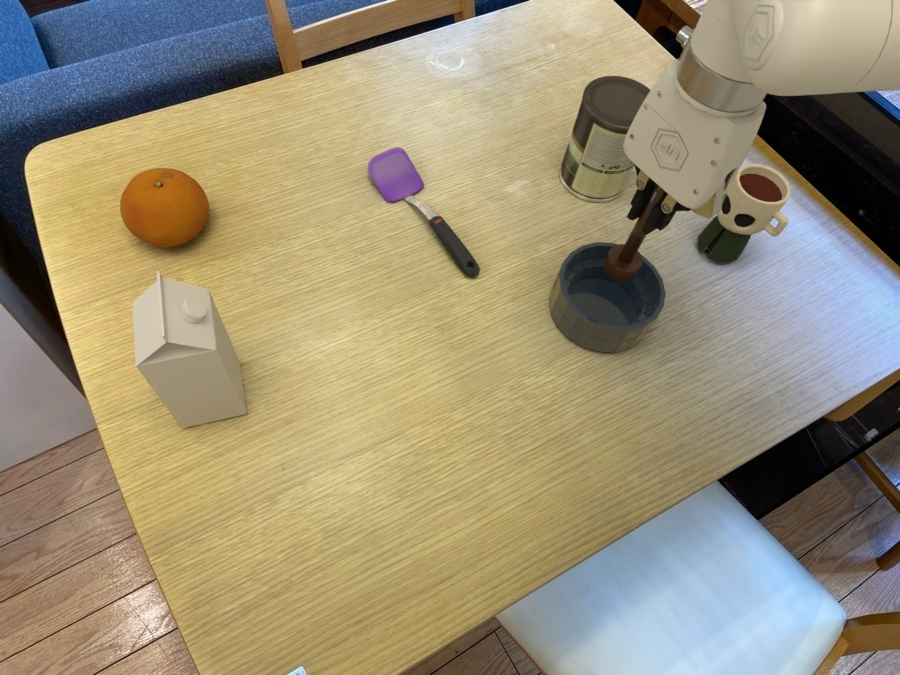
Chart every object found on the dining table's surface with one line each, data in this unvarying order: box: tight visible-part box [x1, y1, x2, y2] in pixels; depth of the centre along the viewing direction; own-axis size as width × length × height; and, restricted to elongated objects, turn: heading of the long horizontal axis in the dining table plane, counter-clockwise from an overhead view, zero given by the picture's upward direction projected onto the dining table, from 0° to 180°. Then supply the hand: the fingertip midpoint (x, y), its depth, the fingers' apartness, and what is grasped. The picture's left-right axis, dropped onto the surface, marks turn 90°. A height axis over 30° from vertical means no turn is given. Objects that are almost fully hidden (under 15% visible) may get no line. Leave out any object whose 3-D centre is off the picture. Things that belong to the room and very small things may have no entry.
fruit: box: [119, 167, 210, 248], centre depth 80 cm, size 10×10×8 cm
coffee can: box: [558, 75, 651, 203], centre depth 89 cm, size 10×10×14 cm
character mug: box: [696, 163, 792, 265], centre depth 84 cm, size 11×7×13 cm, turn 36°
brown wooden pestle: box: [604, 184, 668, 281], centre depth 68 cm, size 4×4×14 cm
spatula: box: [367, 146, 481, 278], centre depth 87 cm, size 24×7×2 cm, turn 34°
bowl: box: [549, 241, 667, 353], centre depth 80 cm, size 13×13×6 cm
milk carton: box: [131, 270, 248, 429], centre depth 64 cm, size 7×7×19 cm
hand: (646, 220), depth 67 cm, fingers closed on brown wooden pestle, 1 cm apart
